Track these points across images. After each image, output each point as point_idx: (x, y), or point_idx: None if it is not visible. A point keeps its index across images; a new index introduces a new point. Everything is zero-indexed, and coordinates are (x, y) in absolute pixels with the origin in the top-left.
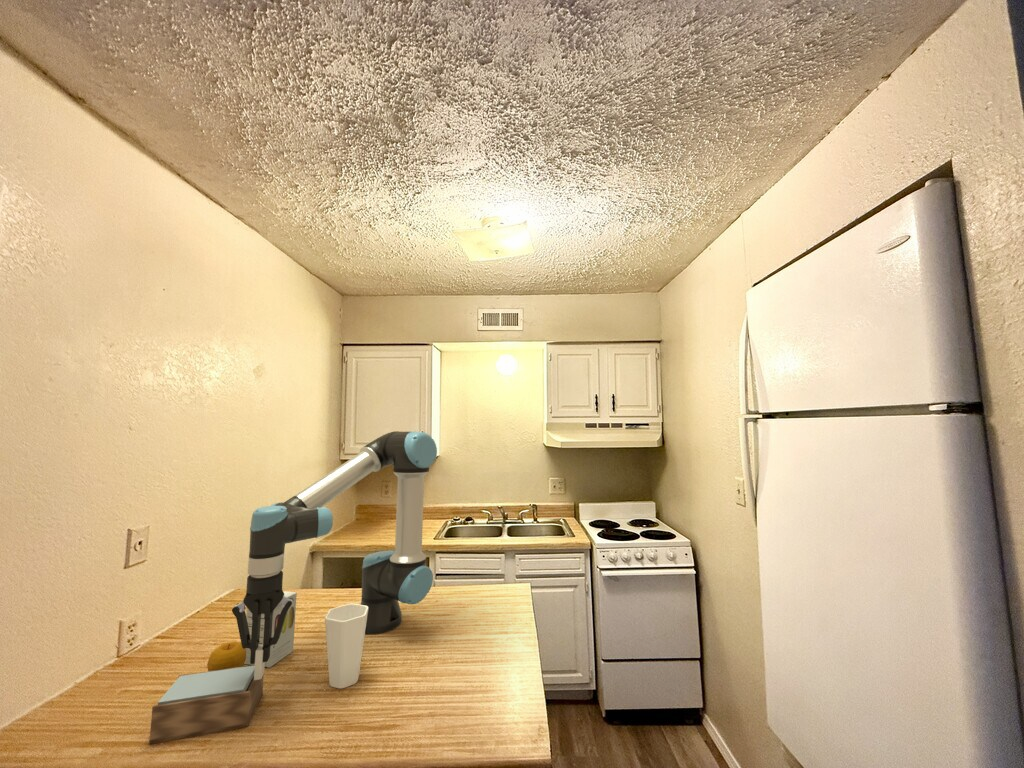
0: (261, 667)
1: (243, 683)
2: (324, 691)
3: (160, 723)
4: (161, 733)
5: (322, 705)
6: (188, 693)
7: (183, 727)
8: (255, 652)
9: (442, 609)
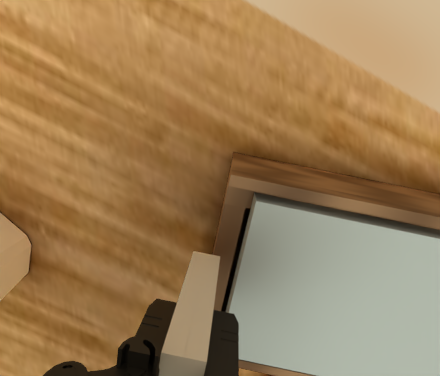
0: (185, 279)
1: (257, 247)
2: (42, 220)
3: None
4: None
5: (39, 154)
6: None
7: (409, 193)
8: (210, 359)
9: None
